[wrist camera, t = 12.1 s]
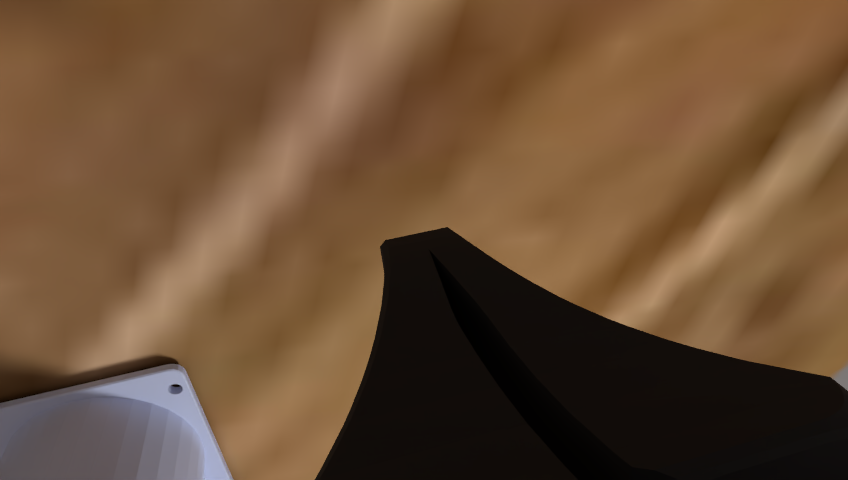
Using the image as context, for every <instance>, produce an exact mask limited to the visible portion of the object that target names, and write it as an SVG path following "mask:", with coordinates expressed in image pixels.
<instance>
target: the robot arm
mask: <svg viewBox="0 0 848 480" xmlns="http://www.w3.org/2000/svg"><path fill="white" fill-rule="evenodd" d="M380 249H381V255H382V261H383V268H384V288H383V297H382V306H381V311H380V316H379V321H378V326H377V331H376V335H375V340H374V343H373V347H372V351H371V354H370V358H369V361H368V364H367V367H366V370H365V373H364V376H363V379H362V382H361V384H360V387H359V389H358V392H357V394H356V397H355V399H354V402H353V405H352V407H351V409H350V412H349V414H348V416H347V419H346V421H345V423H344V425H343V427H342V429H341V431H340V433H339V435H338V437H337V439H336V441H335V443H334V445H333V447H332V449H331V451H330V452H329V454H328V456H327V458H326V460H325V462H324V464H323V466H322V468H321V470H320V472H319V473H318V475H317V477H316V479H315V480H848V391H847V390H846V389H845V388H843V387H842V386H841V385H840V384H838V383H837V382H836V381H835V380H833V379H832V378H831V377H827V376H821V375H816V374H811V373H806V372H801V371H796V370H790V369H785V368H780V367H775V366H770V365H764V364H759V363H754V362H749V361H745V360H740V359H736V358H732V357H728V356H724V355H721V354H717V353H713V352H709V351H705V350H701V349H697V348H694V347H690V346H687V345H683V344H680V343H676V342H673V341H670V340H666V339H663V338H660V337H657V336H655V335H652V334H649V333H646V332H643V331H640V330H637V329H634V328H631V327H628V326H626V325H623V324H620V323H618V322H615V321H612V320H610V319H607V318H605V317H603V316H600V315H598V314H596V313H593V312H591V311H589V310H587V309H584V308H582V307H580V306H577V305H575V304H573V303H571V302H569V301H567V300H565V299H563V298H561V297H559V296H557V295H555V294H553V293H551V292H549V291H547V290H545V289H544V288H542V287H540V286H538V285H536V284H534V283H532V282H531V281H529V280H527V279H525V278H524V277H522V276H520V275H519V274H517V273H515V272H514V271H512V270H510V269H509V268H507V267H506V266H504V265H502V264H501V263H499V262H498V261H496V260H495V259H493V258H492V257H490V256H488V255H487V254H485V253H484V252H483V251H481V250H480V249H478V248H477V247H475V246H474V245H472V244H471V243H469V242H468V241H467V240H465V239H464V238H462V237H461V236H459V235H458V234H457V233H455V232H454V231H452V230H451V229H449V228H448V227H446V228H441V229H437V230H432V231H427V232H422V233H418V234H413V235H408V236H403V237H399V238H394V239H389V240H385V241H384V243H383V244H382V245H381V246H380ZM173 384H178V385H181V386H180V387H173V386H171V385H173ZM0 480H233V478H232V476H231V473H230V471H229V469H228V467H227V464H226V462H225V460H224V457H223V455H222V453H221V450H220V448H219V446H218V444H217V441H216V439H215V437H214V434H213V432H212V430H211V427H210V425H209V423H208V421H207V418H206V416H205V414H204V411H203V409H202V407H201V405H200V402H199V400H198V398H197V395H196V393H195V391H194V388H193V386H192V384H191V382H190V379H189V377H188V375H187V372H186V370H185V369H184V368H183V367H182V366H180V365H178V364H166V365H162V366H158V367H153V368H149V369H145V370H141V371H136V372H132V373H128V374H123V375H119V376H115V377H110V378H106V379H102V380H97V381H93V382H89V383H84V384H80V385H76V386H72V387H67V388H63V389H59V390H54V391H50V392H46V393H41V394H37V395H33V396H28V397H24V398H20V399H16V400H11V401H7V402H3V403H0Z"/></svg>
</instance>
